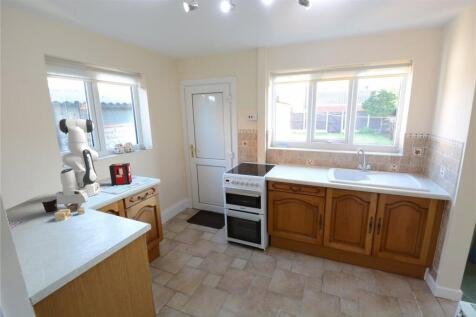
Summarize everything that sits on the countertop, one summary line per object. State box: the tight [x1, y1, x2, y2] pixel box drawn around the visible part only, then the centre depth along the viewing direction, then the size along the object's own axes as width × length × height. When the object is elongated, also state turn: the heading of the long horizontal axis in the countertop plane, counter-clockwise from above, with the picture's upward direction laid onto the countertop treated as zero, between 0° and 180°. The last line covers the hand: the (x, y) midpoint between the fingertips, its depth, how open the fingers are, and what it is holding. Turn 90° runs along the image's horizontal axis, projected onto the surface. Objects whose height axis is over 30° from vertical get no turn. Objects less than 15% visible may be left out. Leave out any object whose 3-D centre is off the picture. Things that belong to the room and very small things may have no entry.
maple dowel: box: [76, 206, 86, 216], centre depth 156 cm, size 4×4×4 cm
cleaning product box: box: [108, 162, 133, 187], centre depth 223 cm, size 16×9×20 cm, turn 102°
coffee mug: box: [41, 196, 58, 214], centre depth 163 cm, size 12×9×10 cm
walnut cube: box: [67, 203, 80, 212], centre depth 163 cm, size 5×5×5 cm
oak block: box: [53, 208, 72, 221], centre depth 149 cm, size 6×6×5 cm
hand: (74, 208), depth 163 cm, fingers open, 7 cm apart
